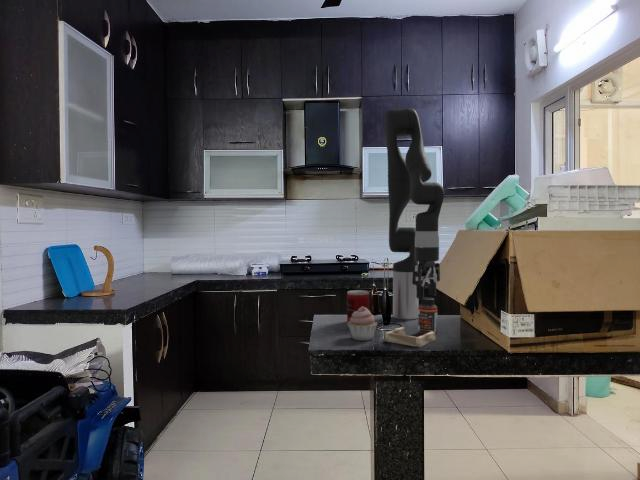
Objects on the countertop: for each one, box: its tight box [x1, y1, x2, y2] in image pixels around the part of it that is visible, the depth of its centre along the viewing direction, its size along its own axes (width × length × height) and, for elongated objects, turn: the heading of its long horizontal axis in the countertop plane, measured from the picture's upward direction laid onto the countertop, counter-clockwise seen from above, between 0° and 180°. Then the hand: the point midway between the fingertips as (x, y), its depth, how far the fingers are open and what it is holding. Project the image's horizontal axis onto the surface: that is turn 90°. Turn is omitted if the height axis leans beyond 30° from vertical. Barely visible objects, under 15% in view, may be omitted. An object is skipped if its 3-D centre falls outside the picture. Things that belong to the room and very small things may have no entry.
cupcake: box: [346, 306, 378, 342], centre depth 154 cm, size 9×9×10 cm
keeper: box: [384, 326, 436, 348], centre depth 151 cm, size 10×11×2 cm
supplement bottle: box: [417, 296, 438, 336], centre depth 160 cm, size 6×6×11 cm
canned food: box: [346, 289, 370, 323], centre depth 177 cm, size 8×8×11 cm
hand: (426, 296), depth 159 cm, fingers open, 8 cm apart
